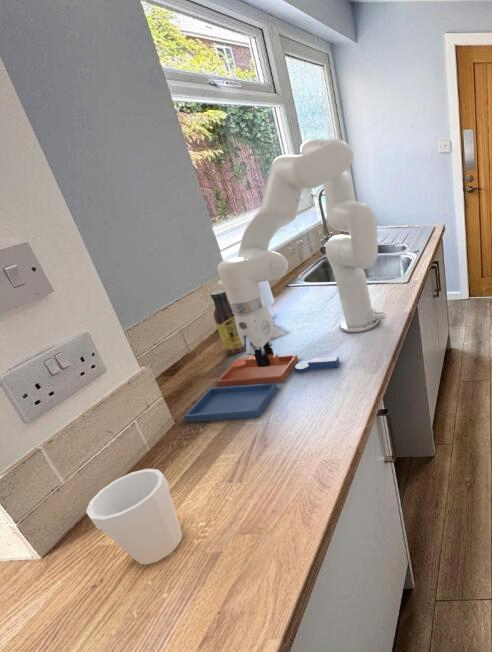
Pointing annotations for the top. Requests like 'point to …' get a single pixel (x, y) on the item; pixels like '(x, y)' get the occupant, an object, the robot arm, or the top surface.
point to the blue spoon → (317, 364)
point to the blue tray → (232, 402)
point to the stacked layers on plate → (277, 333)
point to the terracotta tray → (259, 373)
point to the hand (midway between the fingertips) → (266, 362)
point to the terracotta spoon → (253, 362)
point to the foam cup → (138, 515)
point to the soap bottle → (267, 296)
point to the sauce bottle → (226, 322)
